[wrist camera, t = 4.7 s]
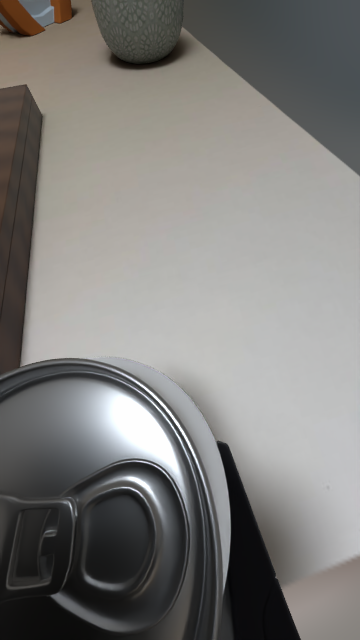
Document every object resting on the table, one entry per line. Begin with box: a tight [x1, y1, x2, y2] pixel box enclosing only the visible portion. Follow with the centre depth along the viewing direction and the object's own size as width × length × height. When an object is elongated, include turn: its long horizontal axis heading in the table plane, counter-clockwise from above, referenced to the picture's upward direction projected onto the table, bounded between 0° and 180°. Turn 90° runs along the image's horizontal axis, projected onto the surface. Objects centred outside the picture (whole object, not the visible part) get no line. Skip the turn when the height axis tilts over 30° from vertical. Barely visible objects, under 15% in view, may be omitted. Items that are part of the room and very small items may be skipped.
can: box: [0, 357, 231, 640], centre depth 8 cm, size 6×6×12 cm
